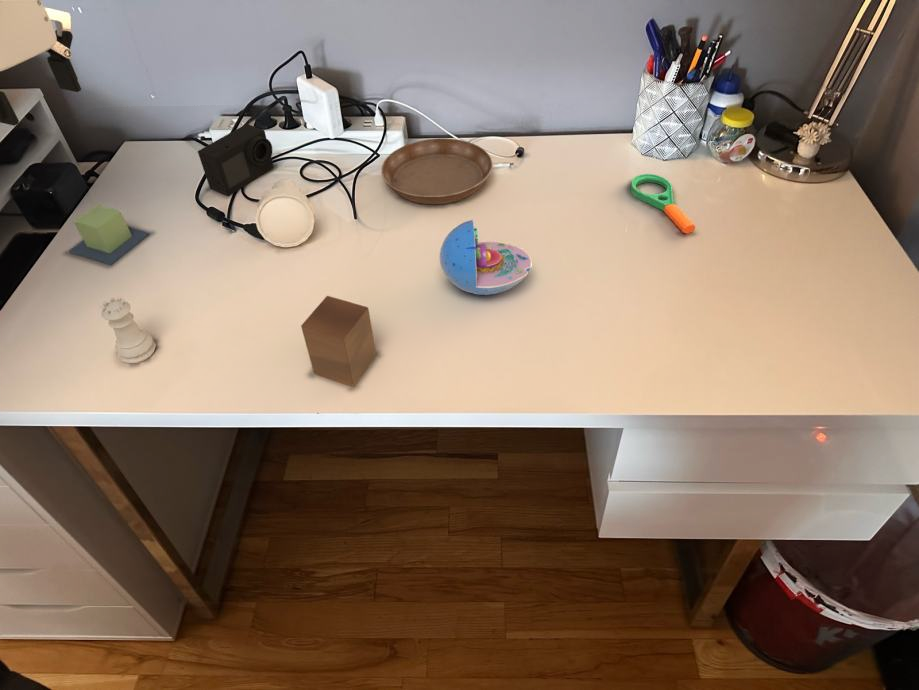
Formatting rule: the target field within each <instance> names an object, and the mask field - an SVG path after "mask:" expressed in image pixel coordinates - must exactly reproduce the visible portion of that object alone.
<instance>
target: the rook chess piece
mask: <svg viewBox="0 0 919 690" xmlns="http://www.w3.org/2000/svg"><path fill="white" fill-rule="evenodd" d="M131 308H132V306H131V303H130V302H128V301H125V299H123V298H122V297H119V296H117V297H116V299H115V297H111V298H109V302H108V301H106V300H104V301H103V303H102V306H101V315H100V316H101V317H102V318H103V319H104V320H107V321H108V326H109V327H111V328H112V330H113V331H114V333H115V336H116V340H115V343H116V344H115V351H116V354H117V357H118V359H119V360H120V361H121V362H123V363H128V364H130V365H131V364H139V363H142V362H144V361H146V360H148V359H149V358H151V356H152V355H153V354H154V352H155V350H156V346H157V345H156V341H155V340H154V339H153V337H152V336H151V334H150V333H148V332H147V331H145V330H143V329H142V328H140V327H139V325H138V324H137V323H136V322H135V320H134V314H133V313H132V312H130V311H131Z"/></svg>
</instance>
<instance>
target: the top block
mask: <svg viewBox="0 0 919 690" xmlns="http://www.w3.org/2000/svg"><path fill="white" fill-rule="evenodd" d="M73 223H74V225H75V227H76V228H77V230H78V232H79V235H80V236H81V238H82V241H83V240H84V242H85V244H86V246H87V247H90V248H93V249H97V250H100V251H103V252H107V253H111V252H113V251H114V250H115V249H116V248H118V247H119V246H120V245H122V244H123V243H124V242H125V241H127V240H128V239H129V238H131V237H132V235H131V233H130V231H129V229H128V227H129V226H128V223H127V222H126V220H125V218H124V215H123V214H122V211H121V210H118V209H114V208H111V207H107V206H105V205H100V204H96V205H94V206H93V207H91V208H90V209H89V210H88V211H86V212H84V213H83V214H82V215H80V216H79V217H77V218H76V219H74V220H73Z"/></svg>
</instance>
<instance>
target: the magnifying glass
mask: <svg viewBox="0 0 919 690" xmlns="http://www.w3.org/2000/svg"><path fill="white" fill-rule="evenodd" d="M644 183H653V184H658V185H660V186H662V187H664V188H665V191H664V192H660V193H647V192H644V191H641V190H640V189H638V188H637V186H639V185H641V184H644ZM630 192H631V194H632V196H634V197H635V198H636V199H638V200H640V201H642V202H644V203H646V204H648V205H650V206H652V207H655V208H657V209H659V210H661V211H662V212H664V213H665V215H667V217H668V218H669V219H670V220H671V221H672V222H673V223H674V224H675V225H676V227H678V228H679V230H680V231H681V232H682V233H683V234H690V233H692V232H694V230H695V229H696V225H695V224H694V223H693V222H692V221H691V220H690V218H689V217H688V216H687V215H685V213H684V212H683V211H682V210H681V209H680V208H679V207H678V206H677V205H676V204H675V202H674V197H673V196H674V195H673V193H674V192H673V185H672V183H671V182H670V181H669V180H668V179H667V178H665V177H664V176H661V175H658V174H655V173H654V174H653V173H642V174H638V175H636V176H634V177H633V178H632V179H631V183H630Z"/></svg>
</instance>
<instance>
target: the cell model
mask: <svg viewBox="0 0 919 690" xmlns="http://www.w3.org/2000/svg"><path fill="white" fill-rule="evenodd" d="M474 223H475V222H474V220H473V219H470V220H467V221H463V222H462V223H460V224H458V225H457V226H456V227H454V228H452V229H451V230H450V232H448V234H447V235H446V237H445V238H444V239H443V241H442V244H441V246H440V249H439V264H440V267H441V270H442V272H443V274H444V275H445V277H446V278H447V279H448V280H449V282H450V283H451V284H452V285H454V286H455V287H456V288H458V289H460V290H462V291H463V292H467V293H468V294H469V293H470V294H474V295H479V296H481V295H482V296H489V295H496V294H499V293H503V292H506V291H508V290H510V289H512V288H514V287H515V286H517V285H518V284H520V283H521V282H522V281H523V280H524V279H526V277H527V276H528V274H529V272H530V270H531V268H532V264H533V261H532V258H531V256H530V255H529V253H527V252H526V251H525V250H524V249H523V248H524V247H522V246H519V247H518V246H517V245H513V244H510V243H505V242H499V241H479V232H478V227H475V225H474Z"/></svg>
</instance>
